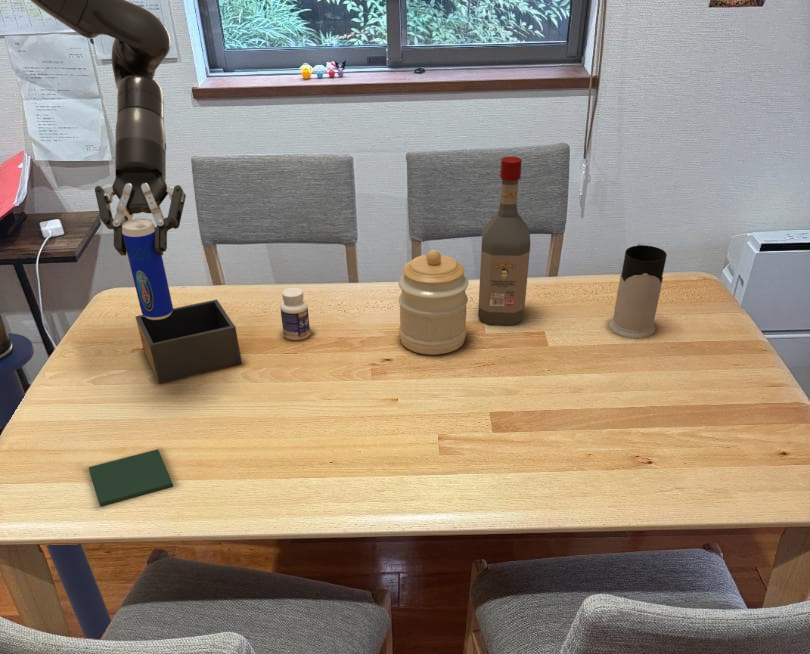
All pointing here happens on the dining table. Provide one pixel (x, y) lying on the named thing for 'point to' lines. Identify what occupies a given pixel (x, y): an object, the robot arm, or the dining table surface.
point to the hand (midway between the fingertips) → (140, 253)
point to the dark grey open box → (189, 341)
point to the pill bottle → (294, 314)
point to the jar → (433, 304)
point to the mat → (130, 477)
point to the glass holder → (638, 291)
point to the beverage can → (147, 269)
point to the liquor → (505, 255)
